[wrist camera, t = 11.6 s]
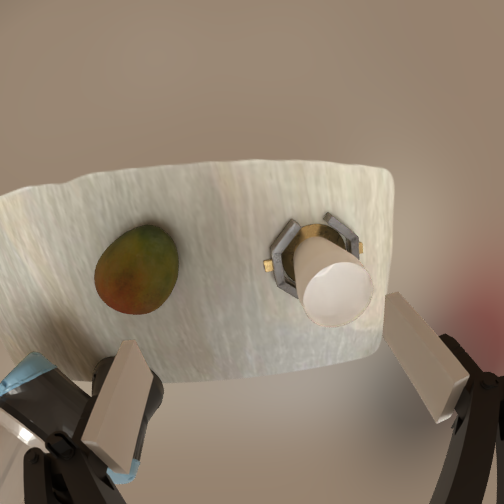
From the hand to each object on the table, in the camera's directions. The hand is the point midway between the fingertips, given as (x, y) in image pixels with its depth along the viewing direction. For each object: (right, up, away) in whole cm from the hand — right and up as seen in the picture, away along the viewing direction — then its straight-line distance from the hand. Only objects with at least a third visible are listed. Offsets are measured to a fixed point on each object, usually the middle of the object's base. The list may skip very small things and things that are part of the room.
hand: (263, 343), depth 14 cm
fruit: (-17, +4, +29) cm, 33 cm away
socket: (+9, +4, +30) cm, 31 cm away
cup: (+9, +4, +30) cm, 31 cm away
